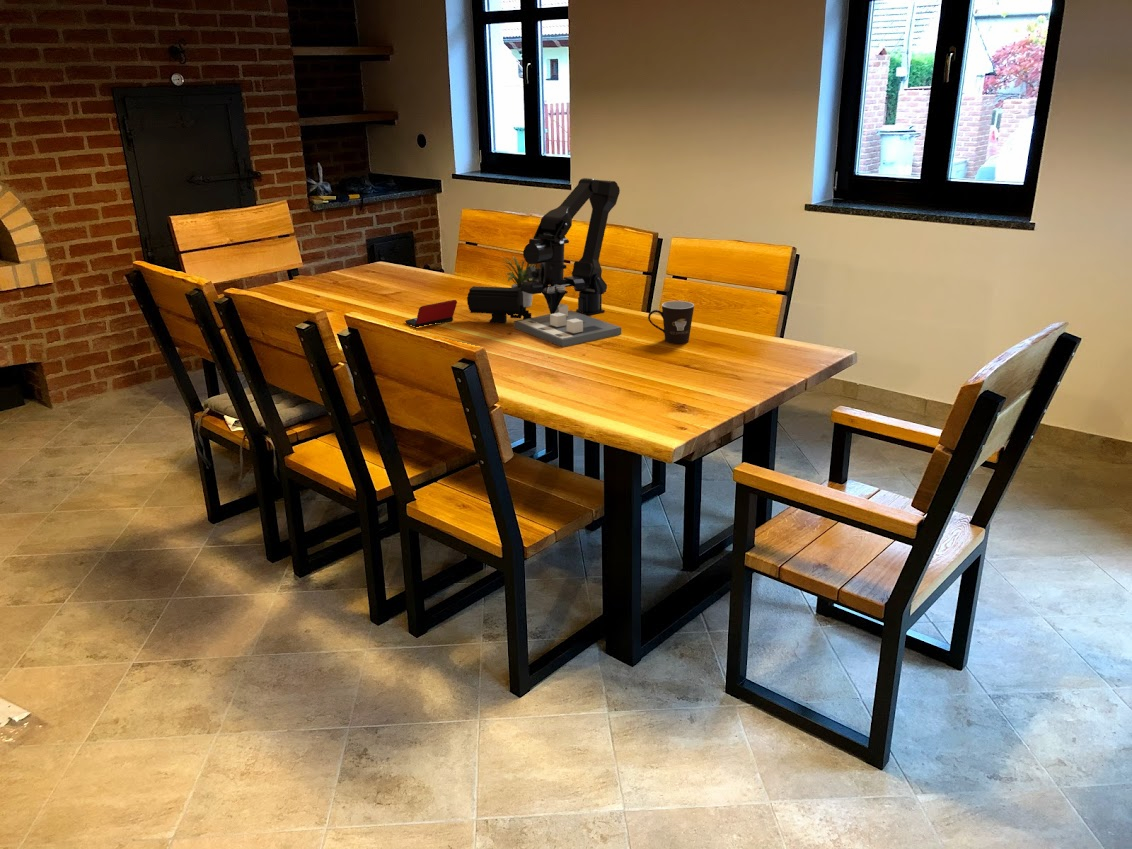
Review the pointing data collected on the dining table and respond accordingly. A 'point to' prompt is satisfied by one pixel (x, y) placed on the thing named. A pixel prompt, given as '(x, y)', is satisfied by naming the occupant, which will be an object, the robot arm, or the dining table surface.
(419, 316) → the handheld game console
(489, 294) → the security camera
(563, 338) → the switch bank
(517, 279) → the house plant
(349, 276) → the dining table surface
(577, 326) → the tab
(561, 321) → the tab
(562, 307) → the tab
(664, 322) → the coffee mug
